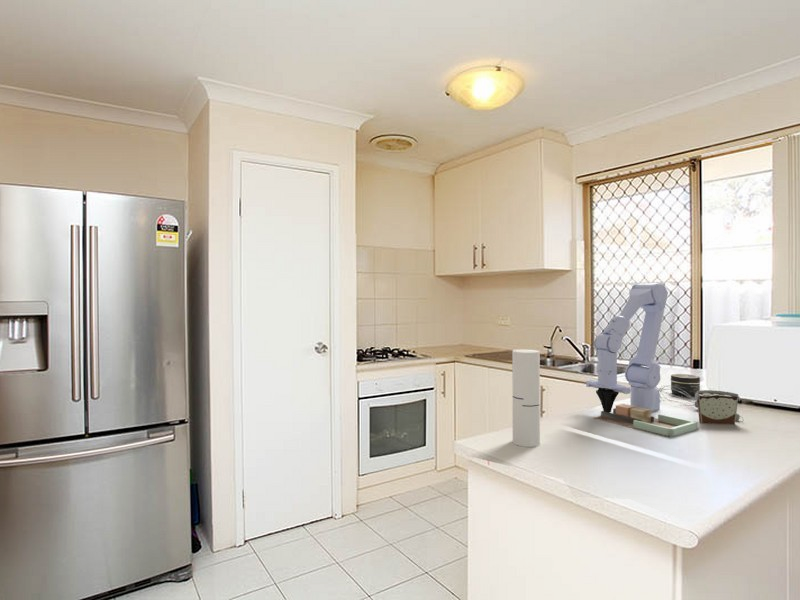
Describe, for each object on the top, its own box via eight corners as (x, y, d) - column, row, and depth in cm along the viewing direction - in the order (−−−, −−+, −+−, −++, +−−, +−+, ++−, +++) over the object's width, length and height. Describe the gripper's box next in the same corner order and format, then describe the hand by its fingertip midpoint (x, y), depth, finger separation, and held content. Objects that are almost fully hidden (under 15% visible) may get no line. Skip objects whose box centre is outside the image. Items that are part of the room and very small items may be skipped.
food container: (727, 421, 145) (727, 390, 145) (740, 427, 139) (740, 394, 139) (686, 421, 146) (686, 389, 146) (696, 426, 140) (696, 393, 140)
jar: (705, 395, 183) (705, 376, 183) (691, 398, 178) (691, 378, 178) (679, 391, 191) (679, 372, 191) (665, 394, 186) (665, 375, 186)
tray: (659, 420, 144) (659, 413, 144) (697, 428, 134) (697, 422, 134) (633, 427, 136) (633, 420, 136) (671, 436, 127) (671, 429, 127)
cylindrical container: (519, 437, 131) (519, 348, 130) (544, 442, 126) (543, 350, 126) (508, 443, 125) (507, 351, 125) (533, 448, 121) (533, 353, 120)
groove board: (622, 414, 155) (622, 406, 155) (699, 431, 135) (699, 423, 135) (592, 421, 147) (592, 413, 147) (669, 441, 126) (669, 432, 126)
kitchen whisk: (735, 424, 144) (735, 403, 144) (653, 400, 176) (653, 384, 176) (751, 422, 145) (751, 402, 145) (666, 399, 178) (666, 383, 178)
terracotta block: (623, 416, 149) (623, 403, 149) (635, 419, 145) (635, 406, 145) (615, 417, 147) (615, 405, 147) (627, 420, 143) (627, 408, 143)
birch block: (638, 419, 144) (638, 406, 144) (650, 422, 141) (650, 409, 141) (630, 421, 142) (630, 408, 142) (643, 424, 139) (643, 411, 139)
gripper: (580, 368, 155) (580, 409, 155) (620, 374, 143) (620, 418, 143) (593, 366, 159) (593, 406, 159) (633, 372, 147) (633, 415, 147)
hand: (607, 412), depth 151 cm, fingers closed
